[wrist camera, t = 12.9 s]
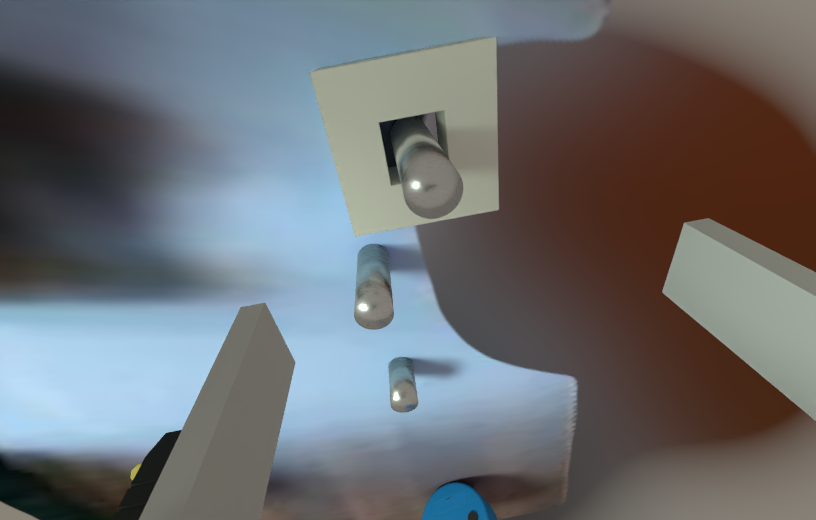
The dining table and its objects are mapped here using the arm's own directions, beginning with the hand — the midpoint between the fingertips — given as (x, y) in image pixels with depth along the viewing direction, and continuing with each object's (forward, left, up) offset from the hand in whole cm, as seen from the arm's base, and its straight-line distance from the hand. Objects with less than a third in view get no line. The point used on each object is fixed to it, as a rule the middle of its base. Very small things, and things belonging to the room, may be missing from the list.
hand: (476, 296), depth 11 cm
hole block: (0, 0, -24) cm, 24 cm away
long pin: (0, 0, -24) cm, 24 cm away
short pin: (-6, -30, -24) cm, 39 cm away
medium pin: (-6, -12, -24) cm, 27 cm away
